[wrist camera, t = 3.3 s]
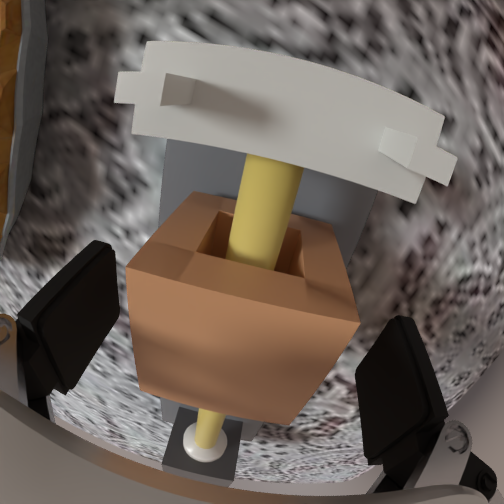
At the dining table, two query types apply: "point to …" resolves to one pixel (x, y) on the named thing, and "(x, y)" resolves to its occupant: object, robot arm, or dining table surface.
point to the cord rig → (271, 173)
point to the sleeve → (237, 314)
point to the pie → (19, 101)
